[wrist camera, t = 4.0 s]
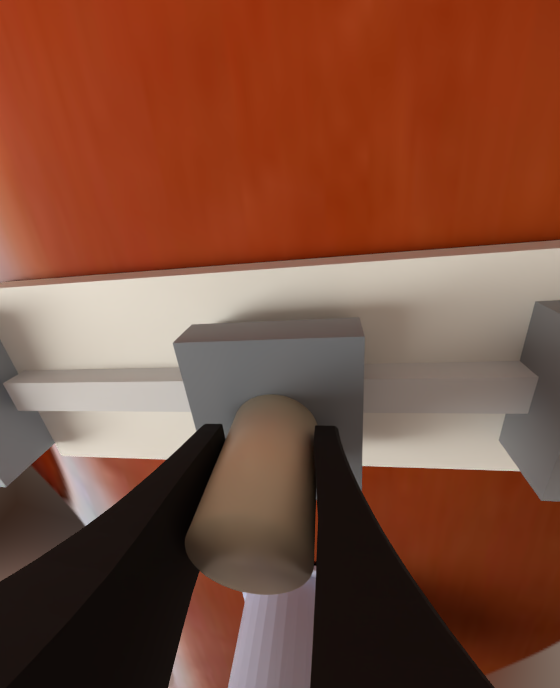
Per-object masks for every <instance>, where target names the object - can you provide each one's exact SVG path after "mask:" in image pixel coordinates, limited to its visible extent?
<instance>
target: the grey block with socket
mask: <svg viewBox="0 0 560 688" xmlns="http://www.w3.org/2000/svg"><path fill="white" fill-rule="evenodd" d="M16 375H18V372H17V370H16V369H15V367H14V365H13V363H12V361H11V359H10V357H9V355H8V353H7V352H6V350H5V348H4V346H3V344H2V342H1V340H0V487H7V486H8V485H9V484H10V483H11V482H12V481H13V480H15V479H16V478H17V477H18V476H19V475H20V474H21V473H22V472H23V471H24V470H26V469H27V468H28V467H29V466H30V465H31V464H32V463H33V462H34V461H35V460H37V459H38V458H39V457H40V456H41V455H42V454H43V453H44V452H45V451H46V450H48V449H49V448H50V447H51V446H52V445H53V444H54V443H55V442H54V440H53V438H52V437H51V435H50V433H49V431H48V429H47V427H46V425H45V423H44V421H43V420H42V418H41V416H40V414H39V412H38V411H18V410H17V408H16V406H15V404H14V403H13V401H12V399H11V397H10V396H9V394H8V392H7V390H6V388H5V387H4V385H3V383H4V382H6V381H7V380H9V379H11V378H13V377H14V376H16Z"/></svg>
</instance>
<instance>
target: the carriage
mask: <svg viewBox="0 0 560 688" xmlns="http://www.w3.org/2000/svg"><path fill="white" fill-rule="evenodd" d="M173 347H174V350H175V354H176V358H177V361H178V365H179V369H180V373H181V376H182V380H183V384H184V387H185V391H186V395H187V398H188V402H189V406H190V409H191V413H192V417H193V421H194V424H195V428H196V431H197V430H198V429H199V428H201V427H202V426H203V425H204V424H222V425H223V430H224V434H225V439H226V440H225V442H224V445H223V447H222V449H221V452H220V454H219V457H218V459H217V462H216V464H215V466H214V469H213V471H212V474H211V476H210V479H209V481H208V483H207V486H206V488H205V491H204V493H203V496H202V498H201V500H200V503H199V505H198V508H197V510H196V513H195V515H194V517H193V520H192V522H191V525H190V527H189V530H188V532H187V534H186V537H185V549H186V553H187V555H188V557H189V559H190V560H191V562H192V563H193V564H194V565H195V567H196V568H197V569H198V570H200V571H201V572H202V573H203V574H204V575H206V576H207V577H209V578H210V579H212V580H213V581H215V582H217V583H219V584H221V585H223V586H226V587H228V588H231V589H234V590H237V591H241V592H245V593H251V594H260V595H274V594H282V593H286V592H290V591H293V590H295V589H297V588H299V587H301V586H302V585H304V584H305V583H306V582H307V581H308V580H309V579H310V577H311V575H312V573H313V569H314V542H315V512H316V500H317V492H316V475H315V459H314V443H313V442H314V431H315V425H321V426H336V427H337V428H338V430H339V435H340V439H341V443H342V446H343V449H344V452H345V455H346V457H347V460H348V462H349V465H350V467H351V470H352V472H353V474H354V476H355V478H356V481H357V483H358V485H359V487H360V489H361V491H362V448H363V400H364V353H365V335H364V332H363V328H362V324H361V321H360V317H350V318H327V319H304V320H281V321H258V322H235V323H212V324H192V325H191V326H190V327H189V328H188V329H187V330H185V331H184V332H183V333H182V334H181V335H180V336H179V337H178V338H177V339H176V340H175V341H174V342H173Z"/></svg>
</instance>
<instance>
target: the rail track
mask: <svg viewBox="0 0 560 688" xmlns="http://www.w3.org/2000/svg"><path fill="white" fill-rule="evenodd" d="M350 317H360V321H361V324H362V328H363V332H364V335H365V353H364V400H363V448H362V466H382V467H412V468H442V469H472V470H503V471H521V473H522V474H523V476H524V477H525V478H526V480H527V481H528V483H529V484H530V485H531V487H532V488H533V490H534V491H535V493H536V494H537V495H538V497H539V498H540V500H541V501H560V240H552V241H539V242H525V243H512V244H499V245H486V246H472V247H459V248H446V249H433V250H419V251H406V252H393V253H379V254H366V255H353V256H340V257H326V258H313V259H300V260H287V261H273V262H260V263H247V264H234V265H220V266H207V267H194V268H181V269H167V270H154V271H141V272H128V273H114V274H101V275H88V276H75V277H61V278H48V279H35V280H21V281H8V282H2V283H0V340H1V342H2V344H3V346H4V348H5V350H6V352H7V353H8V355H9V357H10V359H11V361H12V363H13V365H14V367H15V369H16V370H17V372H18V375H16V376H14V377H13V378H11V379H9V380H7V381H6V382H4V383H3V385H4V387H5V388H6V390H7V392H8V394H9V396H10V397H11V399H12V401H13V403H14V404H15V406H16V408H17V410H18V411H38V412H39V414H40V416H41V418H42V420H43V421H44V423H45V425H46V427H47V429H48V431H49V433H50V435H51V437H52V438H53V440H54V442H55V444H56V446H57V448H58V450H59V452H60V454H61V456H80V457H110V458H140V459H168V458H169V457H170V456H171V455H172V454H173V453H174V452H175V451H176V450H177V449H179V448H180V447H181V446H182V445H183V444H184V443H185V442H186V441H187V440H188V439H189V438H190V437H191V436H192V435H193V434H194V433H195V432H196V428H195V424H194V421H193V417H192V413H191V409H190V406H189V402H188V398H187V395H186V391H185V387H184V384H183V380H182V376H181V373H180V369H179V365H178V361H177V358H176V354H175V350H174V347H173V342H174V341H175V340H176V339H177V338H178V337H179V336H180V335H181V334H182V333H183V332H184V331H185V330H187V329H188V328H189V327H190V326H191V325H192V324H212V323H235V322H258V321H281V320H304V319H327V318H350Z"/></svg>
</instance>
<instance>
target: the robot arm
mask: <svg viewBox="0 0 560 688" xmlns="http://www.w3.org/2000/svg"><path fill="white" fill-rule="evenodd" d="M225 440H226V439H225V434H224V430H223V425H222V424H204V425H203V426H202V427H201V428H199V429H198V430H197V431H196V432H195V433H194V434H193V435H192V436H191V437H190V438H189V439H188V440H187V441H186V442H185V443H184V444H183V445H182V446H181V447H180V448H179V449H177V450H176V451H175V452H174V453H173V454H172V455H171V456H170V457H169V458H168V459H167V460H166V461H165V462H164V463H162V464H161V465H160V466H159V467H158V468H157V469H156V470H155V471H154V472H153V473H151V474H150V475H149V476H148V477H147V478H146V479H144V480H143V481H142V482H141V483H140V484H139V485H137V486H136V487H135V488H134V489H133V490H132V491H130V492H129V493H128V494H127V495H126V496H124V497H123V498H122V499H121V500H120V501H118V502H117V503H116V504H114V505H113V506H112V507H111V508H109V509H108V510H107V511H105V512H104V513H103V514H101V515H100V516H99V517H97V518H96V519H95V520H93V521H92V522H91V523H89V524H88V525H87V526H85V527H84V528H82V529H81V530H80V531H79V532H77V533H75V534H74V535H72V536H71V537H69V538H68V539H66V540H65V541H63V542H62V543H60V544H59V545H57V546H56V547H54V548H53V549H51V550H50V551H48V552H47V553H45V554H44V555H42V556H41V557H40V558H38V559H36V560H35V561H33V562H32V563H30V564H28V565H27V566H25V567H24V568H22V569H20V570H19V571H17V572H16V573H14V574H12V575H11V576H9V577H8V578H5V579H4V580H2V581H1V582H0V688H168V685H169V681H170V676H171V673H172V669H173V665H174V661H175V657H176V653H177V649H178V645H179V641H180V637H181V633H182V629H183V626H184V622H185V618H186V615H187V611H188V607H189V604H190V600H191V596H192V593H193V589H194V586H195V583H196V580H197V577H198V574H199V571H200V570H198V569H197V568H196V567H195V565H194V564H193V563H192V562H191V560H190V559H189V557H188V555H187V553H186V549H185V537H186V534H187V532H188V530H189V527H190V525H191V522H192V520H193V517H194V515H195V513H196V510H197V508H198V505H199V503H200V500H201V498H202V496H203V493H204V491H205V488H206V486H207V483H208V481H209V479H210V476H211V474H212V471H213V469H214V466H215V464H216V462H217V459H218V457H219V454H220V452H221V449H222V447H223V445H224V442H225ZM313 443H314V459H315V475H316V492H317V508H318V538H317V562H316V566H314V569H313V573H312V575H311V577H310V579H309V580H308V581H307V582H306V583H305V584H304V585H302V586H301V587H299V588H297V589H295V590H293V591H290V592H286V593H282V594H274V595H260V594H251V593H245V592H242V593H243V597H244V600H245V605H244V610H243V615H242V620H241V625H240V630H239V635H238V640H237V645H236V650H235V655H234V660H233V665H232V670H231V675H230V680H229V685H228V688H494V686H493V685H492V684H491V683H490V681H489V680H488V679H487V678H486V676H485V675H484V674H483V673H482V671H481V670H480V669H479V668H478V666H477V665H476V664H475V662H474V661H473V660H472V659H471V657H470V656H469V655H468V653H467V652H466V651H465V649H464V648H463V647H462V645H461V644H460V643H459V641H458V640H457V639H456V638H455V636H454V635H453V634H452V632H451V631H450V630H449V628H448V627H447V626H446V624H445V623H444V621H443V620H442V619H441V617H440V616H439V614H438V613H437V612H436V610H435V609H434V607H433V606H432V604H431V603H430V602H429V600H428V599H427V597H426V596H425V595H424V593H423V592H422V590H421V589H420V588H419V586H418V585H417V583H416V582H415V581H414V579H413V578H412V576H411V575H410V573H409V572H408V570H407V569H406V567H405V565H404V564H403V562H402V561H401V559H400V558H399V556H398V555H397V553H396V552H395V550H394V548H393V547H392V545H391V543H390V542H389V540H388V538H387V537H386V535H385V534H384V532H383V530H382V528H381V527H380V525H379V523H378V521H377V520H376V518H375V516H374V514H373V512H372V510H371V509H370V507H369V505H368V503H367V501H366V499H365V497H364V495H363V493H362V491H361V489H360V487H359V485H358V483H357V481H356V478H355V476H354V474H353V472H352V470H351V467H350V465H349V462H348V460H347V457H346V455H345V452H344V449H343V446H342V443H341V439H340V435H339V430H338V428H337V427H336V426H321V425H315V431H314V442H313Z"/></svg>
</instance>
